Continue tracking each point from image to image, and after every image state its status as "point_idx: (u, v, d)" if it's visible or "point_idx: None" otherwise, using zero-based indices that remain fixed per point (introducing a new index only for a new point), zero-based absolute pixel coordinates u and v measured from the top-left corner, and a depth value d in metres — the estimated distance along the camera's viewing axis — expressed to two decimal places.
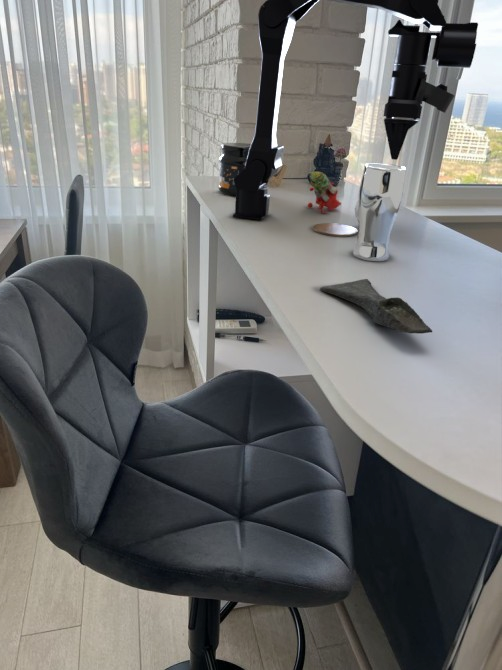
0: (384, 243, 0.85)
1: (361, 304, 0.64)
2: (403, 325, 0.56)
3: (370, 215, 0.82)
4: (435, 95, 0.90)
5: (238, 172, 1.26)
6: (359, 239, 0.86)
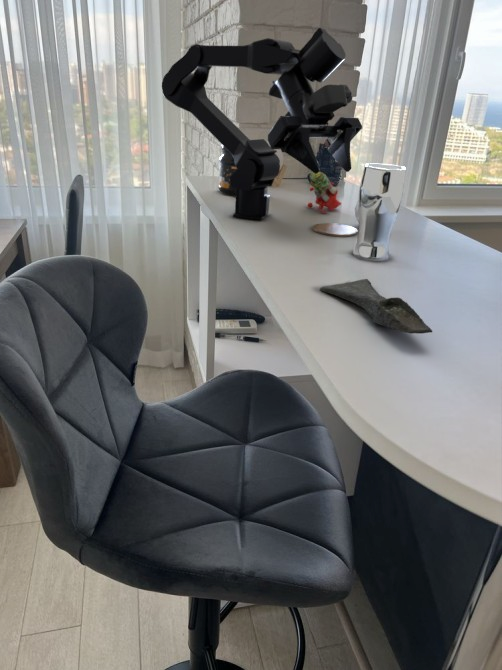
0: (384, 243, 0.85)
1: (361, 304, 0.64)
2: (403, 325, 0.56)
3: (370, 215, 0.82)
4: (316, 99, 0.88)
5: None
6: (359, 239, 0.86)
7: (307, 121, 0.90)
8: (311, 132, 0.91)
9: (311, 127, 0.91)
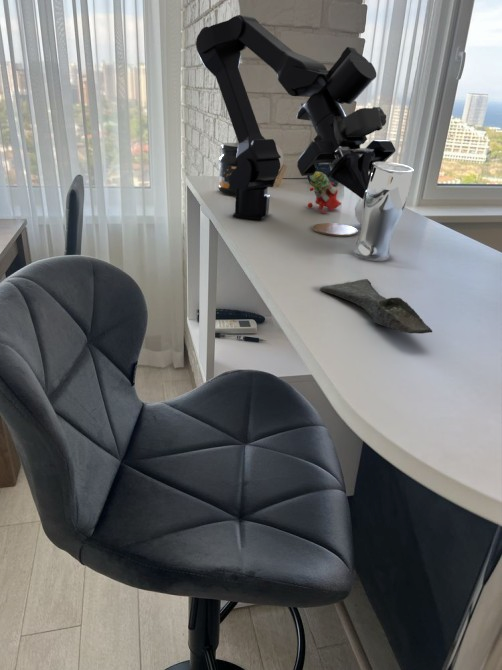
0: (385, 243, 0.85)
1: (361, 304, 0.64)
2: (403, 325, 0.56)
3: (374, 215, 0.82)
4: (348, 123, 0.83)
5: None
6: (360, 237, 0.86)
7: (339, 146, 0.85)
8: None
9: None
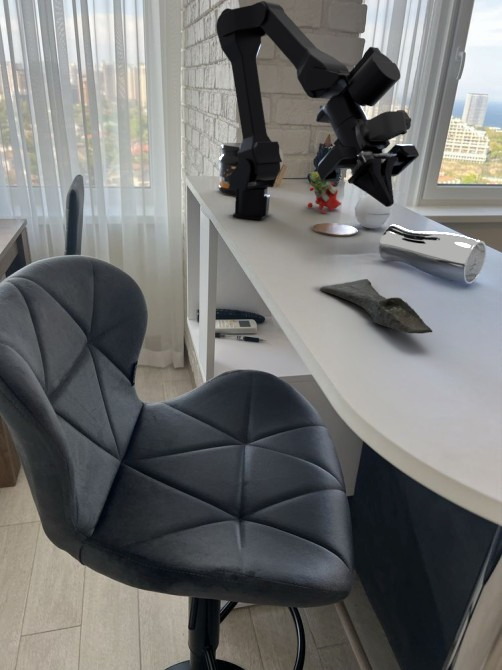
0: (399, 261, 0.84)
1: (361, 304, 0.64)
2: (403, 325, 0.56)
3: (419, 257, 0.78)
4: (372, 127, 0.79)
5: None
6: (399, 238, 0.81)
7: (361, 150, 0.82)
8: None
9: None
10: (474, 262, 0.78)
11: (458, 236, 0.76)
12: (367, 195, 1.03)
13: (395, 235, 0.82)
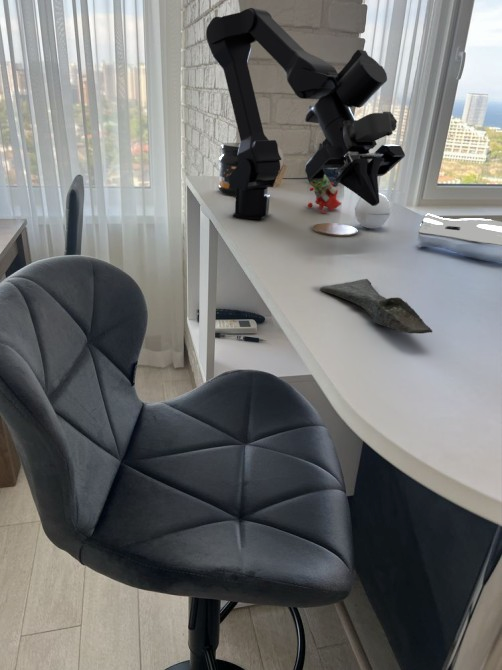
0: None
1: (361, 304, 0.64)
2: (403, 325, 0.56)
3: None
4: (358, 128, 0.81)
5: None
6: None
7: (348, 150, 0.84)
8: None
9: None
10: None
11: (484, 253, 0.86)
12: None
13: (430, 246, 0.93)
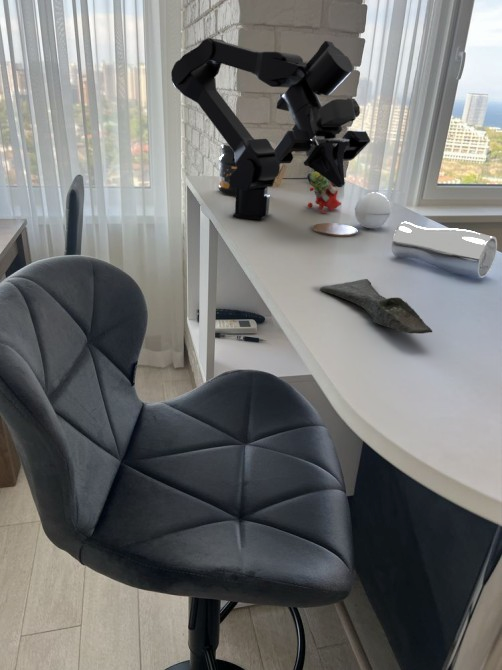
0: (408, 246, 0.84)
1: (361, 304, 0.64)
2: (403, 325, 0.56)
3: (441, 233, 0.81)
4: (323, 113, 0.87)
5: None
6: (421, 227, 0.85)
7: (314, 135, 0.89)
8: None
9: None
10: None
11: None
12: (367, 195, 1.03)
13: None
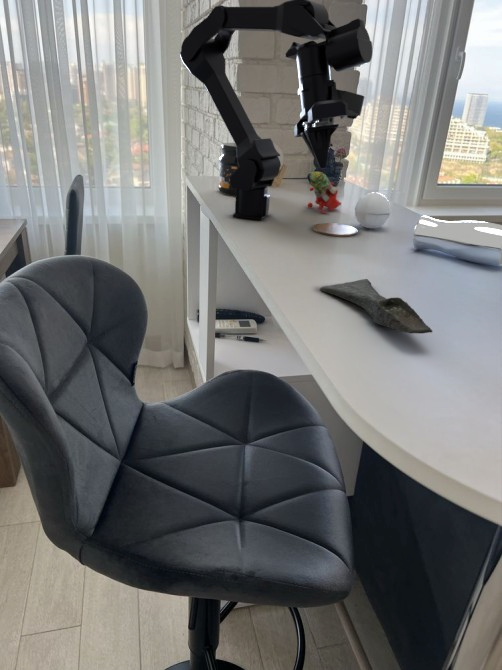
0: None
1: (361, 304, 0.64)
2: (403, 325, 0.56)
3: None
4: (348, 99, 0.91)
5: None
6: None
7: None
8: None
9: None
10: None
11: (480, 263, 0.86)
12: (367, 195, 1.03)
13: None
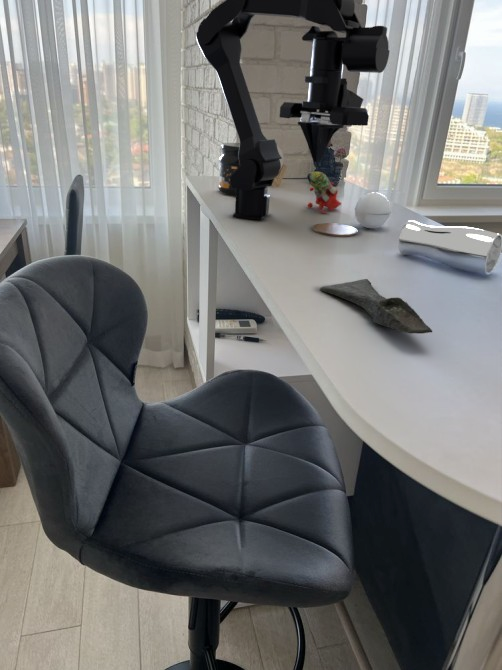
0: (418, 233, 0.85)
1: (361, 304, 0.64)
2: (403, 325, 0.56)
3: (453, 227, 0.83)
4: (353, 100, 0.93)
5: None
6: None
7: None
8: None
9: None
10: None
11: None
12: (367, 195, 1.03)
13: None
